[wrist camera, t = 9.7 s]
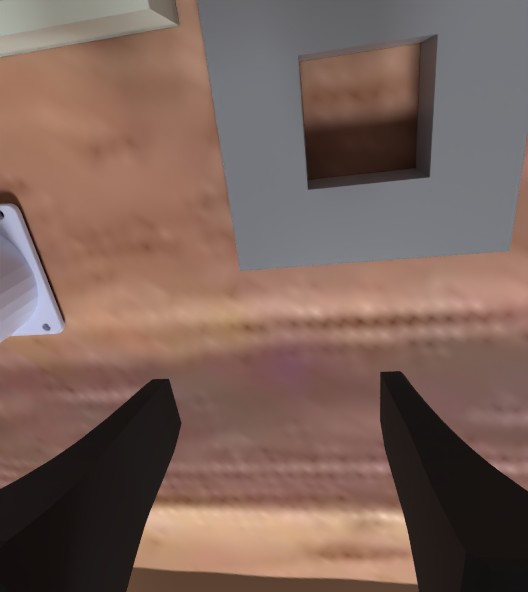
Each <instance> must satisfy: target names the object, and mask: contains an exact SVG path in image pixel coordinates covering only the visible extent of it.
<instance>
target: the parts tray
mask: <svg viewBox="0 0 528 592" xmlns="http://www.w3.org/2000/svg"><path fill="white" fill-rule="evenodd" d="M176 26H179V20H178V15H177V9H176V3H175V0H0V57H4V56H10V55H16V54H21V53H27V52H33V51H39V50H44V49H50V48H56V47H62V46H67V45H73V44H79V43H84V42H90V41H96V40H102V39H107V38H113V37H119V36H125V35H130V34H136V33H142V32H147V31H153V30H159V29H165V28H170V27H176Z"/></svg>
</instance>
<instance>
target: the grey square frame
mask: <svg viewBox="0 0 528 592" xmlns="http://www.w3.org/2000/svg"><path fill="white" fill-rule="evenodd" d="M197 4H198V10H199V16H200V22H201V29H202V35H203V41H204V47H205V54H206V60H207V66H208V72H209V78H210V85H211V91H212V97H213V103H214V110H215V116H216V122H217V128H218V135H219V141H220V147H221V153H222V160H223V166H224V172H225V178H226V184H227V191H228V197H229V203H230V209H231V216H232V222H233V228H234V234H235V241H236V247H237V253H238V259H239V266H240V271H247V270H261V269H274V268H288V267H301V266H315V265H328V264H342V263H355V262H368V261H382V260H395V259H409V258H422V257H436V256H449V255H463V254H476V253H490V252H503V251H510V246H511V239H512V233H513V226H514V219H515V213H516V206H517V200H518V193H519V187H520V180H521V174H522V167H523V160H524V154H525V147H526V141H527V134H528V0H197ZM418 43H421V48H420V72H419V97H418V121H417V146H416V168H413V169H404V170H395V171H385V172H376V173H367V174H358V175H348V176H339V177H330V178H320V179H311V180H308V169H307V155H306V141H305V127H304V114H303V100H302V86H301V72H300V62H301V61H307V60H314V59H320V58H327V57H333V56H340V55H346V54H353V53H359V52H366V51H373V50H379V49H386V48H392V47H399V46H405V45H412V44H418Z"/></svg>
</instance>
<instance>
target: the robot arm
mask: <svg viewBox="0 0 528 592" xmlns="http://www.w3.org/2000/svg"><path fill="white" fill-rule="evenodd" d="M0 211H2V212H3V214H4V217H3V216H2V215H1V214H0V343H1V342H2V341H3V340H5V339H6V338H7V337H8V336H19V335H38V334H57V333H60V332H61V331H62V330H63V329H64V328H65V324H64V321H63V319H62V316H61V314H60V311H59V308H58V306H57V303H56V301H55V298H54V296H53V293H52V291H51V288H50V285H49V283H48V280H47V278H46V275H45V273H44V270H43V268H42V265H41V262H40V260H39V257H38V255H37V252H36V250H35V247H34V245H33V242H32V239H31V237H30V234H29V232H28V229H27V227H26V224H25V222H24V219H23V216H22V214H21V211H20V210H19V208H18V207H17V206H16V205H14V204H12V203H5V204H0ZM46 324H48V325H49V326H50V327H48V326H47V325H46ZM380 422H381V428H382V434H383V440H384V446H385V451H386V455H387V458H388V462H389V465H390V469H391V472H392V476H393V479H394V483H395V486H396V490H397V493H398V497H399V500H400V503H401V507H402V510H403V514H404V518H405V522H406V526H407V530H408V534H409V540H410V545H411V550H412V555H413V561H414V566H415V571H416V577H417V582H418V588H419V592H528V491H527V490H525V489H524V488H522V487H521V486H520V485H518V484H517V483H515V482H514V481H513V480H511V479H510V478H508V477H507V476H506V475H504V474H503V473H501V472H500V471H499V470H497V469H496V468H495V467H493V466H492V465H491V464H490V463H488V462H487V461H486V460H485V459H483V458H482V457H481V456H480V455H479V454H477V453H476V452H475V451H474V450H473V449H472V448H470V447H469V446H468V445H467V444H466V443H465V442H464V441H463V440H462V439H461V438H460V437H458V436H457V435H456V434H455V433H454V432H453V431H452V430H451V429H450V428H449V427H448V426H447V425H446V424H445V423H444V422H443V421H442V420H441V419H440V417H439V416H438V415H437V414H436V413H435V412H434V411H433V410H432V409H431V408H430V406H429V405H428V404H427V403H426V402H425V401H424V400H423V398H422V397H421V396H420V395H419V394H418V392H417V391H416V390H415V389H414V387H413V386H412V385H411V384H410V382H409V381H408V380H407V378H406V377H405V376H404V374H403V373H402V372H400V371H393V372H381V373H380ZM180 427H181V420H180V417H179V413H178V409H177V406H176V402H175V399H174V395H173V392H172V388H171V384H170V381H169V379H153V380H151V381H150V382H149V383H147V384H146V385H145V386H144V387H143V388H141V389H140V390H139V391H138V392H137V393H136V394H135V395H133V396H132V397H131V398H130V399H129V400H128V401H127V402H125V403H124V404H123V405H122V406H121V407H120V408H119V409H117V410H116V411H115V412H114V413H113V414H112V415H110V416H109V417H108V418H107V419H106V420H104V421H103V422H102V423H101V424H99V425H98V426H97V427H96V428H94V429H93V430H92V431H90V432H89V433H88V434H87V435H85V436H84V437H83V438H82V439H80V440H79V441H78V442H76V443H75V444H73V445H72V446H71V447H69V448H68V449H66V450H65V451H63V452H62V453H60V454H59V455H57V456H56V457H55V458H53V459H51V460H50V461H48V462H47V463H45V464H43V465H42V466H40V467H38V468H37V469H35V470H33V471H32V472H30V473H28V474H27V475H25V476H23V477H22V478H20V479H18V480H16V481H15V482H13V483H11V484H9V485H7V486H5V487H3V488H1V489H0V592H126V591H127V587H128V583H129V579H130V576H131V572H132V568H133V565H134V561H135V557H136V554H137V550H138V547H139V544H140V540H141V537H142V534H143V530H144V527H145V524H146V521H147V518H148V516H149V513H150V510H151V508H152V505H153V503H154V500H155V498H156V495H157V493H158V490H159V488H160V486H161V483H162V481H163V478H164V476H165V473H166V471H167V468H168V466H169V463H170V461H171V458H172V456H173V453H174V450H175V447H176V443H177V439H178V435H179V431H180Z"/></svg>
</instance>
